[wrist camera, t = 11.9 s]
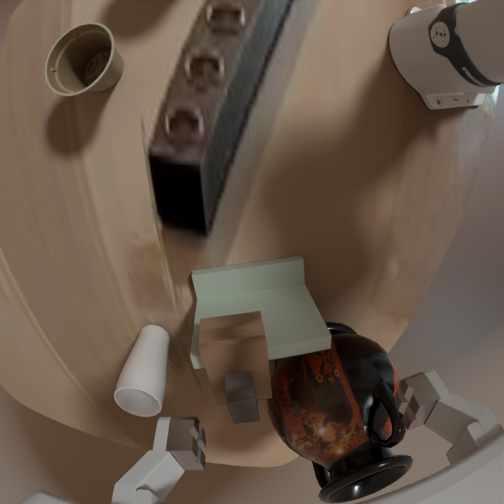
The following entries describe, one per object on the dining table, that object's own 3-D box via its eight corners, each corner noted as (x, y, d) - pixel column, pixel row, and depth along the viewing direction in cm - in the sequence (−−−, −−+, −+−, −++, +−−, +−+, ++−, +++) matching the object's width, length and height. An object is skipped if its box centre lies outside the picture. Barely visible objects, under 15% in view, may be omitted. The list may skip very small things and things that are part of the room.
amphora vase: (335, 395, 56) (376, 502, 30) (242, 383, 52) (258, 518, 26) (389, 319, 49) (470, 429, 24) (289, 292, 45) (352, 451, 19)
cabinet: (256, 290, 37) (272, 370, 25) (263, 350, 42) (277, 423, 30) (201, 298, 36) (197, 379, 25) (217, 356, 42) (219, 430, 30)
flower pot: (140, 37, 28) (121, 15, 20) (131, 100, 32) (107, 91, 24) (81, 45, 27) (52, 30, 19) (72, 105, 31) (39, 101, 23)
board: (301, 255, 42) (332, 306, 30) (302, 290, 45) (330, 348, 32) (192, 270, 42) (181, 329, 29) (200, 305, 44) (194, 369, 31)
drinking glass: (178, 325, 45) (165, 395, 31) (170, 354, 47) (159, 422, 34) (138, 314, 44) (113, 380, 30) (134, 344, 46) (112, 409, 32)
